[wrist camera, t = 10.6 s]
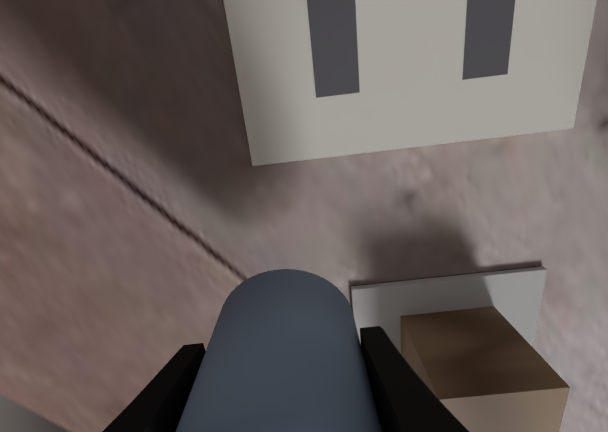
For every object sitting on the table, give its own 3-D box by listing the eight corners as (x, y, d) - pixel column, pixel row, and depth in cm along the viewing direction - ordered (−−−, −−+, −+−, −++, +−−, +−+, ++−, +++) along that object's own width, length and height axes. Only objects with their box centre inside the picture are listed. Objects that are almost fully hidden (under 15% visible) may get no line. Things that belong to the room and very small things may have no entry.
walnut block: (493, 306, 17) (569, 387, 12) (485, 375, 18) (549, 470, 14) (400, 315, 17) (439, 399, 12) (401, 384, 19) (434, 480, 14)
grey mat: (542, 266, 16) (547, 269, 16) (518, 404, 20) (521, 408, 19) (351, 286, 16) (351, 290, 16) (360, 418, 20) (361, 423, 20)
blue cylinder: (350, 262, 10) (392, 400, 6) (357, 372, 12) (395, 551, 7) (206, 277, 10) (127, 424, 6) (233, 384, 12) (190, 566, 7)
